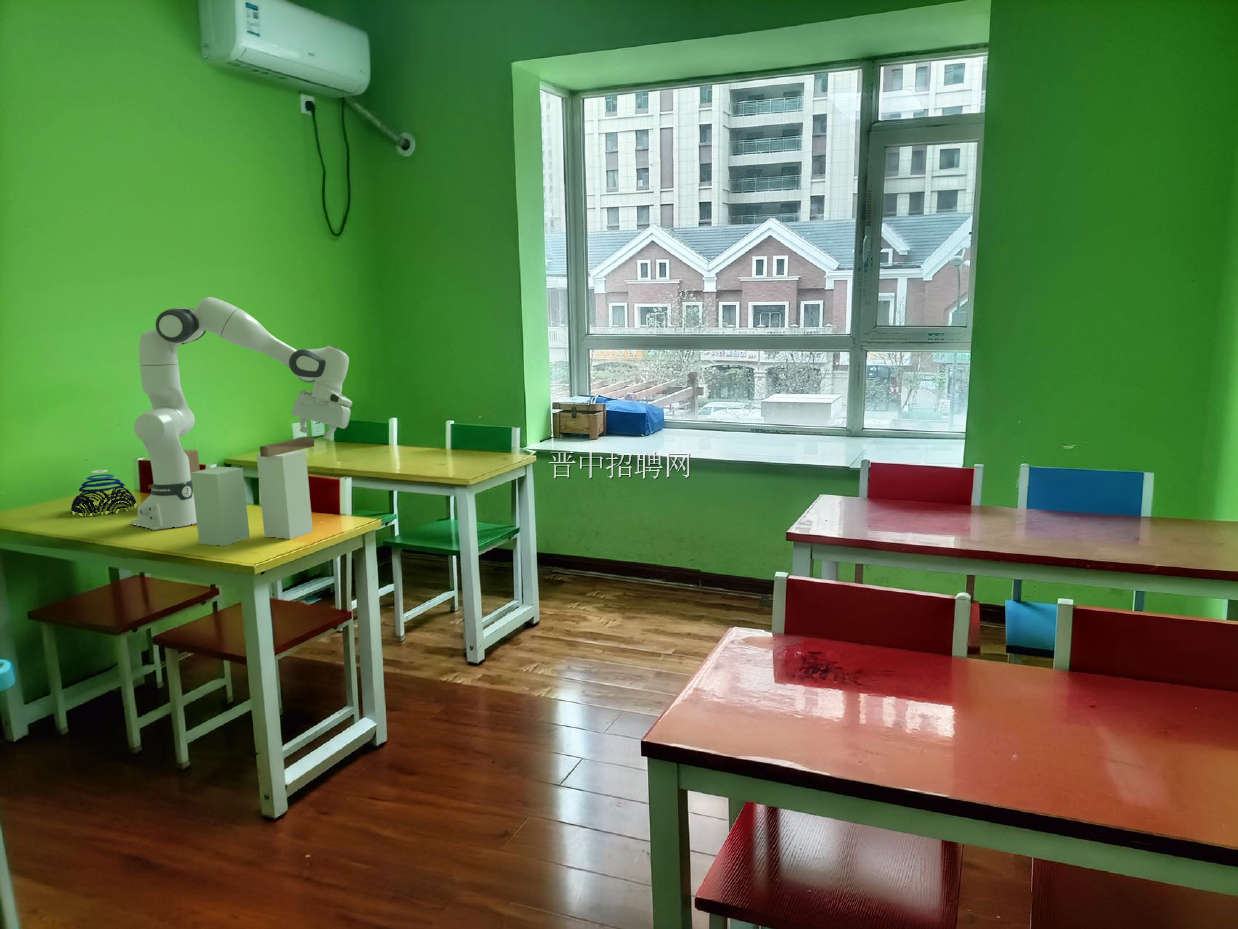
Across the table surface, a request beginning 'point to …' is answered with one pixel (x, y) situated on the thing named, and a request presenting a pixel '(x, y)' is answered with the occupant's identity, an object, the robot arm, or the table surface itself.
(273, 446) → the walnut bar
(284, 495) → the grey post
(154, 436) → the robot arm
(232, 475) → the sage post
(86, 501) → the decorative bowl
